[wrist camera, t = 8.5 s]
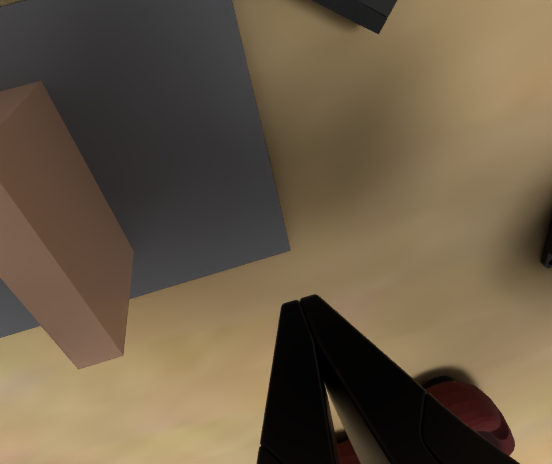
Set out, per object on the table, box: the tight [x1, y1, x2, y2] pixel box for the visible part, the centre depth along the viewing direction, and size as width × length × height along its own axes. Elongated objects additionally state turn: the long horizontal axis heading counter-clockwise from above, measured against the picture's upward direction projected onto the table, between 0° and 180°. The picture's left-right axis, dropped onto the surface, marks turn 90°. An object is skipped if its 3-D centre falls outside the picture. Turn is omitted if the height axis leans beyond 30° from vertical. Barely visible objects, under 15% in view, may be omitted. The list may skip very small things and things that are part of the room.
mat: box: [0, 0, 290, 338], centre depth 17 cm, size 18×13×1 cm
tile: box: [0, 81, 134, 369], centre depth 14 cm, size 2×8×6 cm, turn 11°
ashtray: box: [337, 376, 515, 464], centre depth 36 cm, size 18×16×5 cm
